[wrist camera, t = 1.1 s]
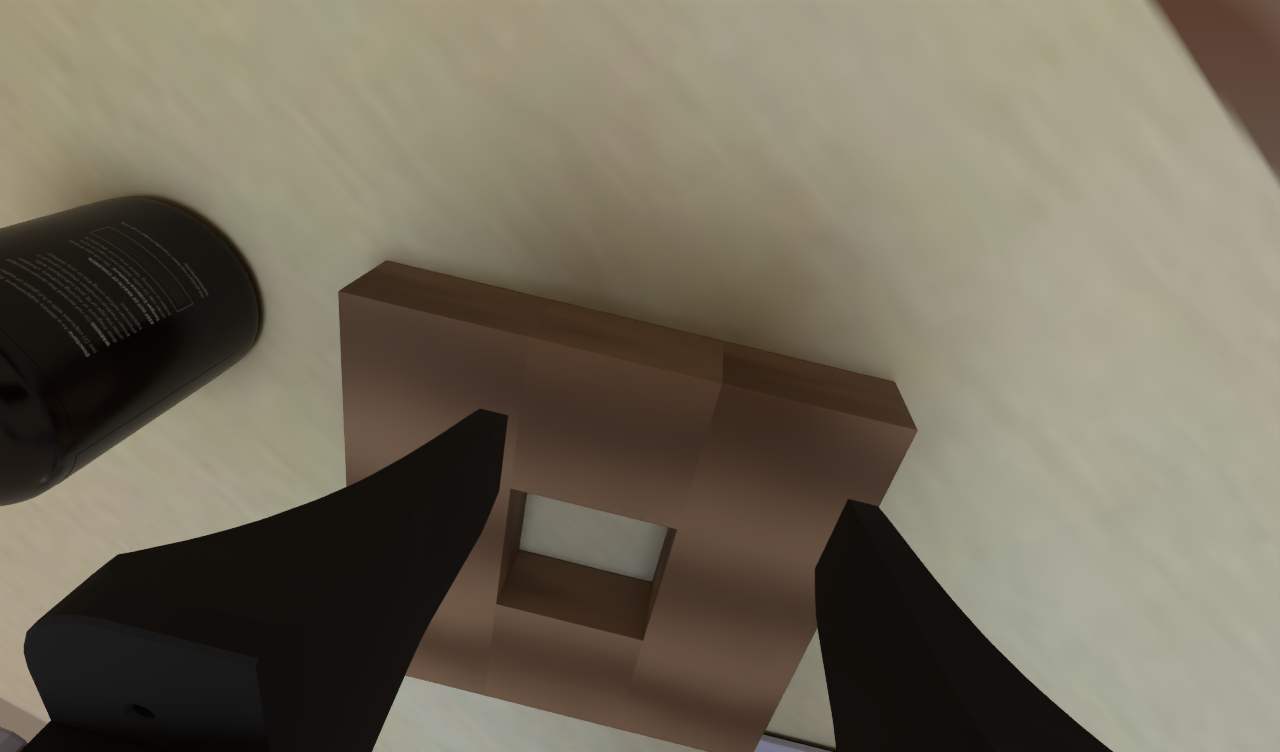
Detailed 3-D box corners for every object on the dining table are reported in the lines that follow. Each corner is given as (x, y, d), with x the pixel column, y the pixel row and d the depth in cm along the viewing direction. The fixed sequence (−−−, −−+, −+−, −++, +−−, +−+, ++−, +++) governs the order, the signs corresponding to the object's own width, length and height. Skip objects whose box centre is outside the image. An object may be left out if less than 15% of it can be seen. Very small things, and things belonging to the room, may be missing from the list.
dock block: (747, 699, 30) (748, 762, 28) (386, 609, 31) (354, 662, 28) (895, 382, 21) (917, 430, 19) (385, 260, 22) (338, 291, 19)
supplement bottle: (54, 197, 22) (-547, 339, 12) (224, 187, 21) (-269, 332, 11) (141, 369, 25) (-273, 600, 15) (293, 367, 24) (-37, 614, 14)
